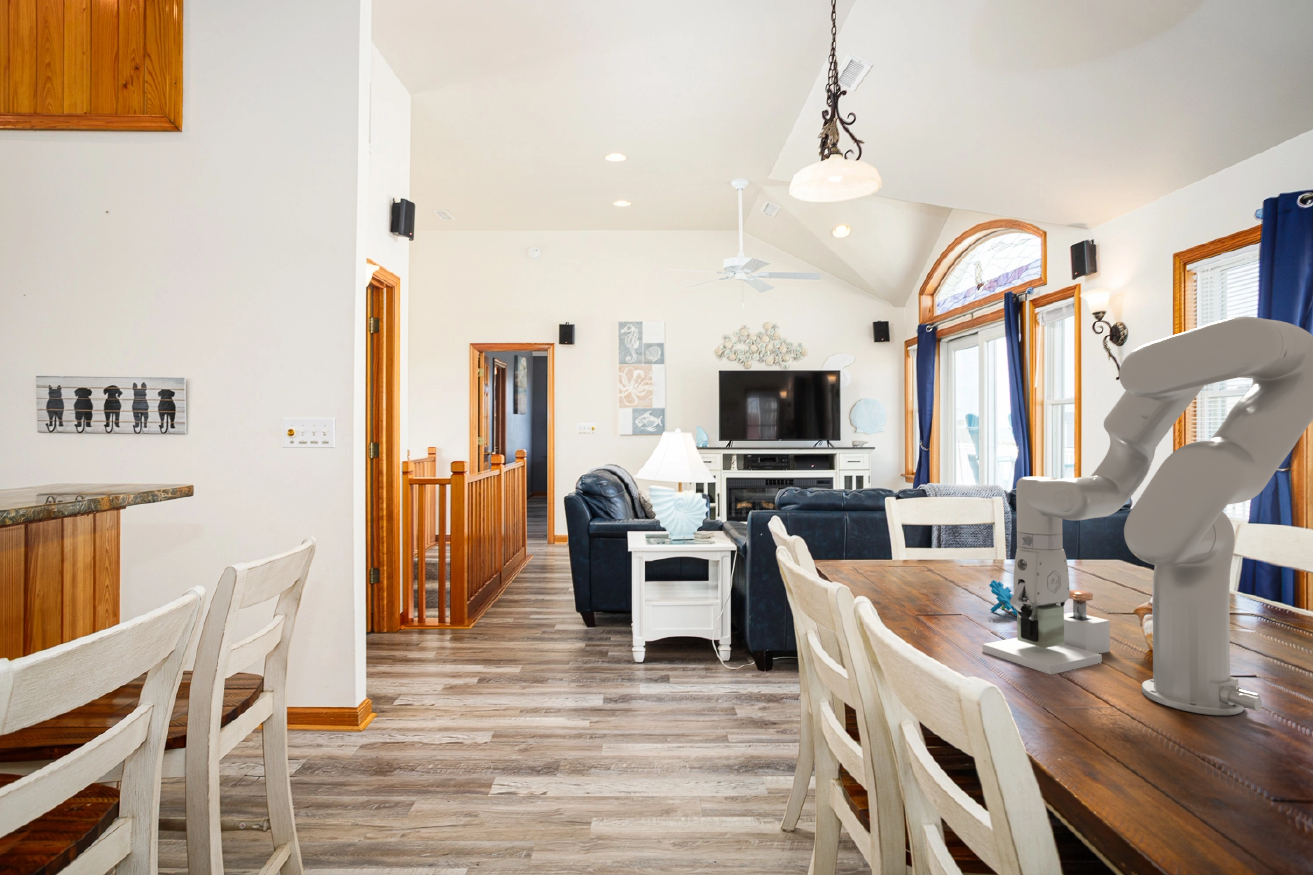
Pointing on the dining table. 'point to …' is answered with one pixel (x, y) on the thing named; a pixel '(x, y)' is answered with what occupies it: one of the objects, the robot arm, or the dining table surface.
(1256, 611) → the dining table surface
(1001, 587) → the gear
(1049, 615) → the block
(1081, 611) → the press pin
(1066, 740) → the dining table surface
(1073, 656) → the press bed
